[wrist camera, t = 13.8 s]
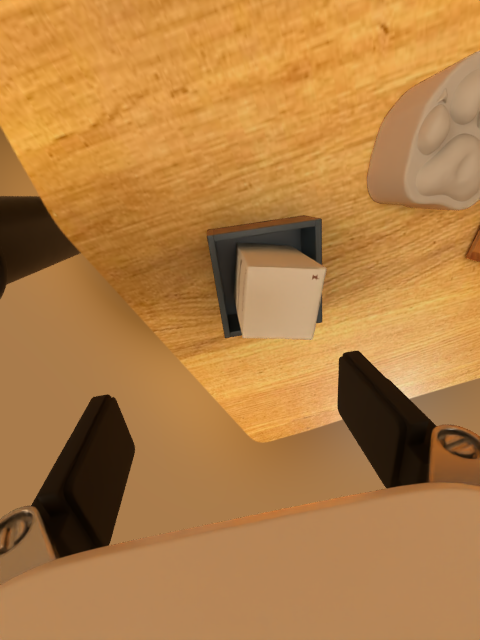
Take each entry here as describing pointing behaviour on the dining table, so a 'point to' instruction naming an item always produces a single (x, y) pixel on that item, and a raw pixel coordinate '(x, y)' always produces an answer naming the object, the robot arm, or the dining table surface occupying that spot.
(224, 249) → the dark grey storage bin
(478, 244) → the tray
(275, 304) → the white packaging box
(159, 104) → the dining table surface
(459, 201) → the lumpy-topped squat cylinder
